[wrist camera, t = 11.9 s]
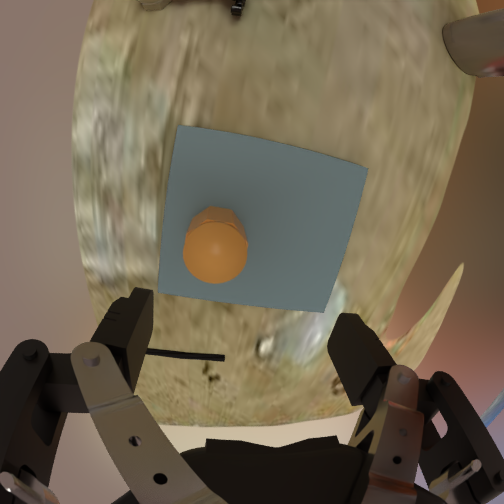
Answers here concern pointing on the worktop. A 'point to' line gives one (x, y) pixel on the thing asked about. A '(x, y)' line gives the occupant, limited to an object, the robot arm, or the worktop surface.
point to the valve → (160, 0)
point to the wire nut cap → (215, 245)
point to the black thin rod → (185, 355)
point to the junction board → (261, 217)
